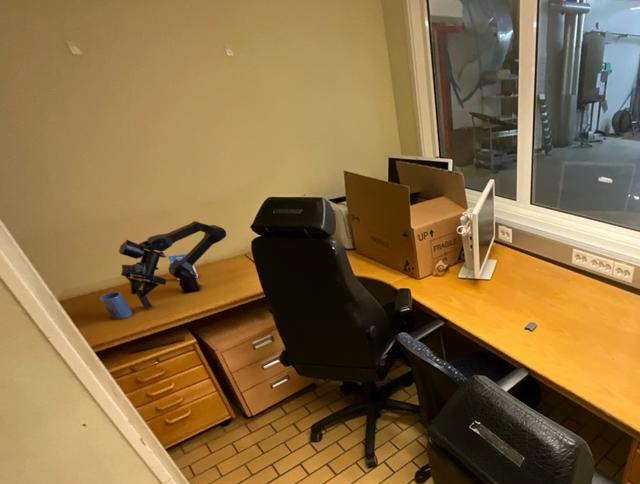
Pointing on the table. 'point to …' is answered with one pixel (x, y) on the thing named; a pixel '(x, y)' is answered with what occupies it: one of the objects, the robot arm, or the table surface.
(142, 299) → the ink cartridge
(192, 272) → the tape cartridge
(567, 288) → the table surface
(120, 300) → the pen cup
